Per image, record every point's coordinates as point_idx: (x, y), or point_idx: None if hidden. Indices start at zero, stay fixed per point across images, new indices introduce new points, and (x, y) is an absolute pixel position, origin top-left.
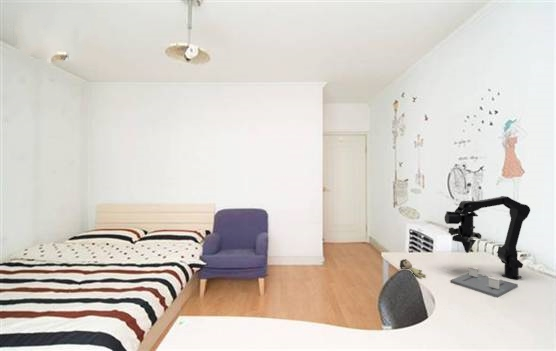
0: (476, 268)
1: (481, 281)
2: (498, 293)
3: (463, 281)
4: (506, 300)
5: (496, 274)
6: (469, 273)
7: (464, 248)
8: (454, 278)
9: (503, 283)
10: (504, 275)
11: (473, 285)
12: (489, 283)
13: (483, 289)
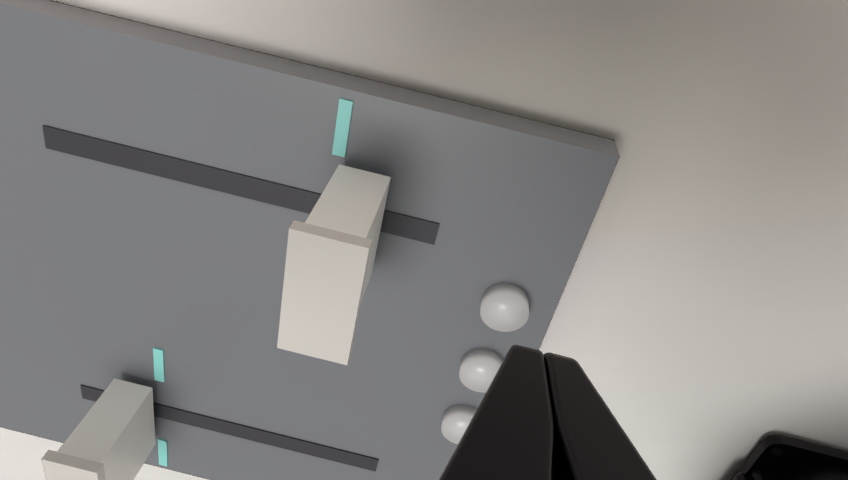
0: (327, 337)
1: (238, 307)
2: (38, 433)
3: (23, 141)
4: (28, 450)
5: (819, 387)
6: (332, 182)
7: (452, 457)
8: (7, 6)
9: (368, 464)
10: (769, 463)
11: (10, 256)
12: (94, 411)
13: (2, 341)
